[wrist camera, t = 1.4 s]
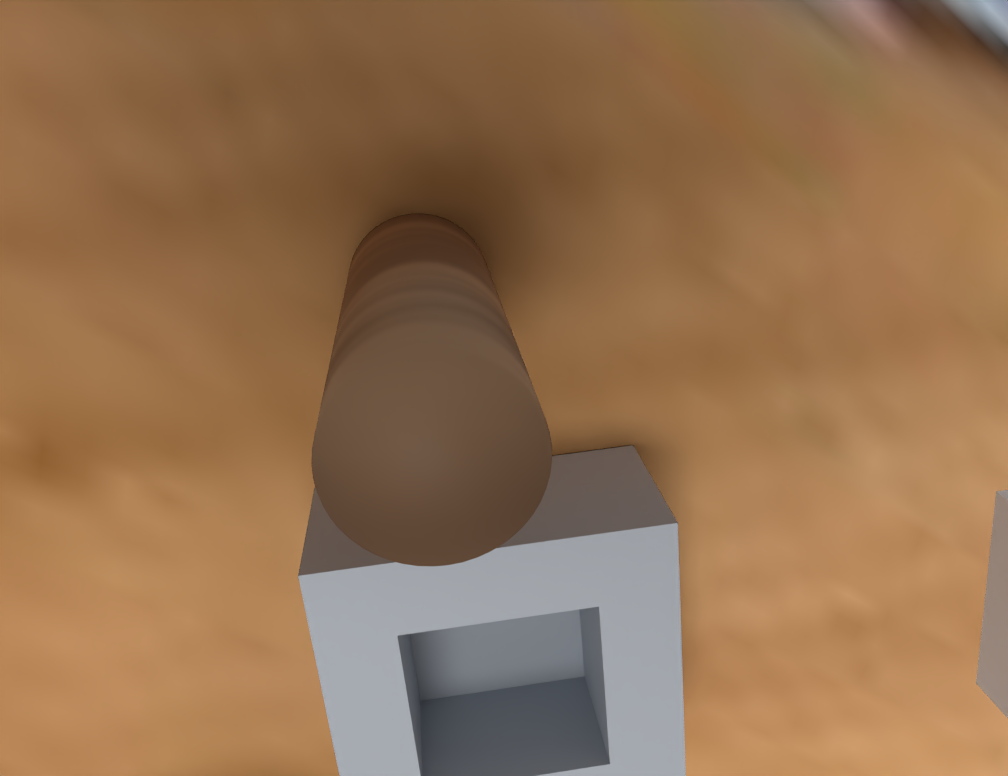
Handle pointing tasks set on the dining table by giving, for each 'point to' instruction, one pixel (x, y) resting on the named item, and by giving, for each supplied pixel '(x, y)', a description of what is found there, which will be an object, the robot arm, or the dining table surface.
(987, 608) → the robot arm
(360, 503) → the peg
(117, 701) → the dining table surface
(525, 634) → the socket
